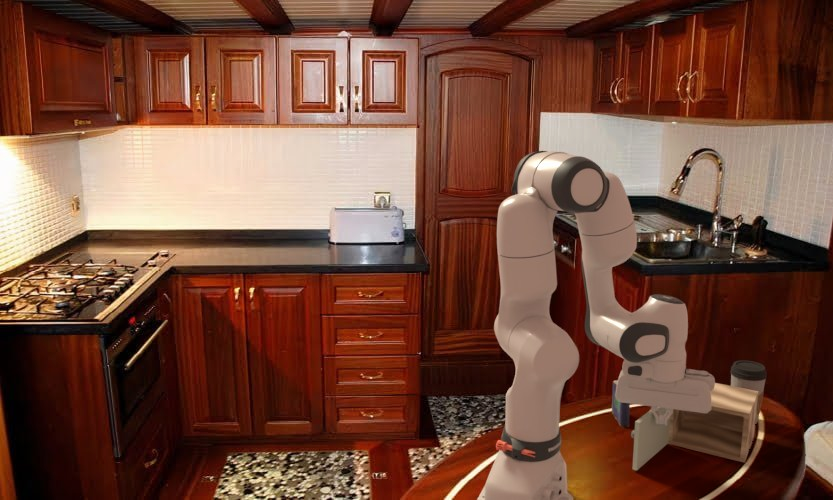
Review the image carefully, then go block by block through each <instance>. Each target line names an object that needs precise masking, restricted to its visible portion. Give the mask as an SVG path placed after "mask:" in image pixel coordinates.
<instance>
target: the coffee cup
mask: <svg viewBox="0 0 833 500" xmlns="http://www.w3.org/2000/svg"><path fill="white" fill-rule="evenodd" d="M729 373H730V375H731V376H730V377H731V378H730V386H734V387H739V388H744V389H749V390H754V391H759V393H758V403H757V413H756V423H755V424H757V423H758V422H759V417H760V413H761V409H762V403H763V397H764V393H765V389H764V388H765V383H766V379H767V377H768V375H767V374H768V373H767V370H766V367H765V365H764V364H762V363H760V362H756V361H752V360H746V359H745V360H736V361H734V362H733V363H732V365H731V366H730V371H729Z"/></svg>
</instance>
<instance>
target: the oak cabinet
mask: <svg viewBox="0 0 833 500" xmlns="http://www.w3.org/2000/svg"><path fill="white" fill-rule="evenodd" d="M758 393H759V391H754V390H749V389H744V388H739V387H734V386H731V385H728V384H723V383H719V382H715V386H714V389H713V390H712V391H711V401H712V405H711V411H710V412H708V413H698V412H691V411H683V410H675V409H673V414H672V415H671V416H670V426H669V441H668V444H667V445H671V446H676V447H680V448H685V449H687V450H692V451H697V452H700V453H704V454H708V455H712V456H717V457H720V458H724V459H729V460H732V461H736V462H740V463H746V460H747V457H748V455H749V451H750V450H749V449H751V447H752V444H753V442H752V441H754V438H755V433H756V425H755V423H756V413H757V403H758ZM756 424H757V423H756Z"/></svg>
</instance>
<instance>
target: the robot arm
mask: <svg viewBox="0 0 833 500" xmlns="http://www.w3.org/2000/svg"><path fill="white" fill-rule="evenodd" d="M510 189H511V190H510V191H511V195H510V196H508V197H506V198H505V199H504V200H503V201H502V202H501V203H500V204H499V206H498V211H497V219H496V220H497V221H496V249H497V260H498V271H499V279H500V280H499V282H500V299H499V307H498V314H497V315H496V318H495V320H494V325H493V331H494V334H495V337H496V339H497V343H498V344H499V346H500V347H501V349H502V350H503V351H504V352H505V353H506V354H507V355H508V356H509V357H510V358H511V359H512V360H513V363H514V367H515V373H514V374H515V375H514V378H513V382H512V385H511V387H509V388H508V390H507V392H506V393H505V424H504V427H503V430H502V434H501V436H500V437H501V438H500V439H498V440H497V441H496V444H495V449H496V451H498V453H497V454H496V457H495V459H494V462H493V464H492V466H491V469H490V471H489V474H488V476H487V479H486V482H485V484H484V486H483V488H482V489H481V492H480V493H479V496H478V497H477V498H476V500H574V496H573V495H572V494H571V493H570V492H568V472H567V470H568V469H567V468H568V467H567V463H566V460H565V459H564V457H563V455H562V453H561V451H560V450H561V446H562V445H561V443H562V436H561V434H562V433H561V429H560V409H561V400H562V399H561V398H562V393H563V390H564V387H565V383H566V381H567V380H569V379H570V378H571V377H572V376H573V375H574V374H575V373H576V371H577V369H578V367H579V363H580V354H579V349H578V348H577V346H576V344H575V343H574V341H573V339H572V338H571V336H570V335H569V334H568V332H566V330H564V329H562V327H560V326H558V325H557V324H556V323H554V322H553V320H552V318H551V315H550V306H551V305H550V304H551V299H552V295H553V293H554V292H555V291H556V290H557V286H558V277H557V276H558V275H557V263H556V252H555V251H556V250H555V241H554V235H553V234H554V233H553V232H554V231H553V227H554V226H553V225H554V220H555V218H556V215H557V213H558V211H560V212H566V213H569V214H574V215H575V218H576V223H577V230H578V234H579V237H580V242H581V255H580V257H581V258H580V260H581V261H580V262H581V272H582V279H583V286H584V294H585V300H586V301H585V302H586V310H585V311H586V312H585V318H584V330H585V334H586V336H587V338H588V339H589V340H590V342H592V343H593V344H595V345H598V346H599V347H602V348H604V349H606V350H608V351H610V352H611V353H613V354H614V355H616V356H618V357H619V358H622V359H623V362H622V366H621V367H622V369H621V370H620V373H619V376H618V379H617V380H618V382H617V387H616V394H615V398H616V399H617V400H618V402H622V403H630V404H632V405H638V406H646V407H650V410H651V411H652V413H653V415H654V416H655V418H656V424H657V425H664V426H667V422H668V419H669V417H670V416H671V415H672V414H673V409H675V410H683V411H691V412H698V413H708V412H710V411H711V405H712V401H711V391H712V390H713V389H714V386H715V383H716V379H715V376H714V375H713V374H711V373H710V372H708V371H706V370H697V369H691V368H687V365H686V364H687V351H686V343H687V341H688V332H689V331H688V329H689V322H688V321H689V320H688V319H689V318H688V317H689V316H688V309H687V306H686V303H684V301H682V300H681V299H679V298H677V297H674V296H671V295H667V294H661V293H659V294H651V295H650V296H649V297H648V300H647V301H646V302H645V303H644V305H642V306H641V307H639V308H638V309H637V310H635V311H633V312H631V311H628V310H627V309H625V308H624V307H622V305H620V304H619V302H618V301H617V299H616V297H615V296H616V295H615V287H614V280H613V272H612V271H613V267H616V266H619V265H621V264H624V263H625V262H627V260H629V259H630V258H631V257H632V256H633V254H634V253H635V251H636V249H637V247H638V245H637V244H638V240H637V239H638V236H637V228H636V223H635V219H634V214H633V211H632V207H631V204H630V200H629V197H628V195H627V192H626V190H625V187H624V186H623V183H622V181H621V180H620V177H618V176H617V175H616V174H614V173H612V172H609V171H604V170H603V169H602V168H601V167H600V166H599V164H597V163H596V162H595V161H593V160H592V159H589V158H587V157H585V156H577V155H574V154H569V153H567V152H564V151H563V152H562V151H548V150H539V151H534V152H530V153H529V154H526V155H525V156H523V158H521V159H520V161H519V162H518V164H517V166H516V168H515V170H514V175H513V183H512V186H511V188H510ZM658 407H660V408H666V412H667V413H666V414H665V415H659V413H658Z"/></svg>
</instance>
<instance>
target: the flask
mask: <svg viewBox="0 0 833 500" xmlns="http://www.w3.org/2000/svg"><path fill="white" fill-rule="evenodd" d="M617 382H618V379H617V380H613V381H612V397H611V398H612V401H611V414H612V415H613V417H614V419H615V420H617V422H618V425H619V426H620V427H622V428H629V427H630V403H622V402H618V400H617V399H616V398H615V394H616V387H617Z"/></svg>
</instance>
